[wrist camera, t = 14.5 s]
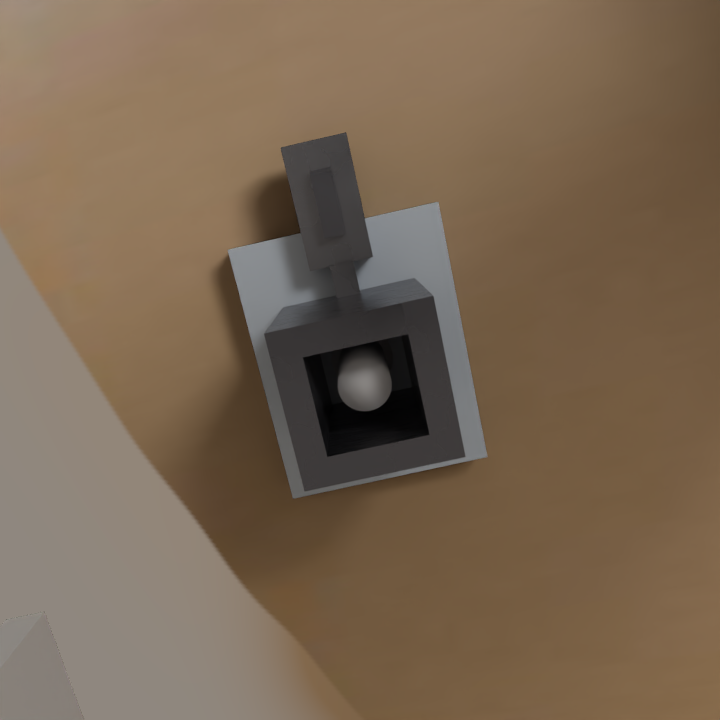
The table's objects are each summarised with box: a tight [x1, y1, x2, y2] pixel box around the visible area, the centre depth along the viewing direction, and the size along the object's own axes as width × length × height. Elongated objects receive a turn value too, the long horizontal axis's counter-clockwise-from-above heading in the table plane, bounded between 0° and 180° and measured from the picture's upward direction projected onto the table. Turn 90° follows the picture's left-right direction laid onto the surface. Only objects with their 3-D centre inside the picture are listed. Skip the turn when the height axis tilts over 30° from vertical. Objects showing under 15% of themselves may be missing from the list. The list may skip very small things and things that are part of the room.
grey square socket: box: [264, 133, 466, 491], centre depth 31 cm, size 15×7×8 cm, turn 13°
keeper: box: [228, 202, 487, 499], centre depth 33 cm, size 14×11×8 cm
